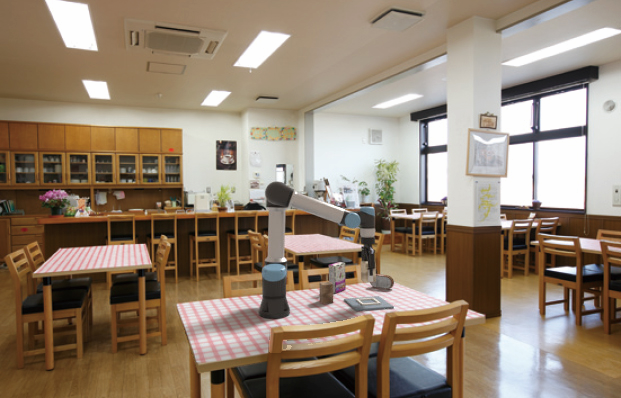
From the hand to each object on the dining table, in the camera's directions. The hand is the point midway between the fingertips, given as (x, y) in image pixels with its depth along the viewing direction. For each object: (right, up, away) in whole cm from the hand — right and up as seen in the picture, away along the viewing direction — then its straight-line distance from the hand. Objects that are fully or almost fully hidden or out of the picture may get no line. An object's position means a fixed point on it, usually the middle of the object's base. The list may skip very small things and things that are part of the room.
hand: (368, 280), depth 213 cm
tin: (+13, -12, +34) cm, 38 cm away
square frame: (0, -13, 0) cm, 13 cm away
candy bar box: (-14, -12, +28) cm, 34 cm away
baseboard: (0, -13, 0) cm, 13 cm away
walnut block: (-22, -13, +6) cm, 26 cm away
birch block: (0, 0, 0) cm, 0 cm away
